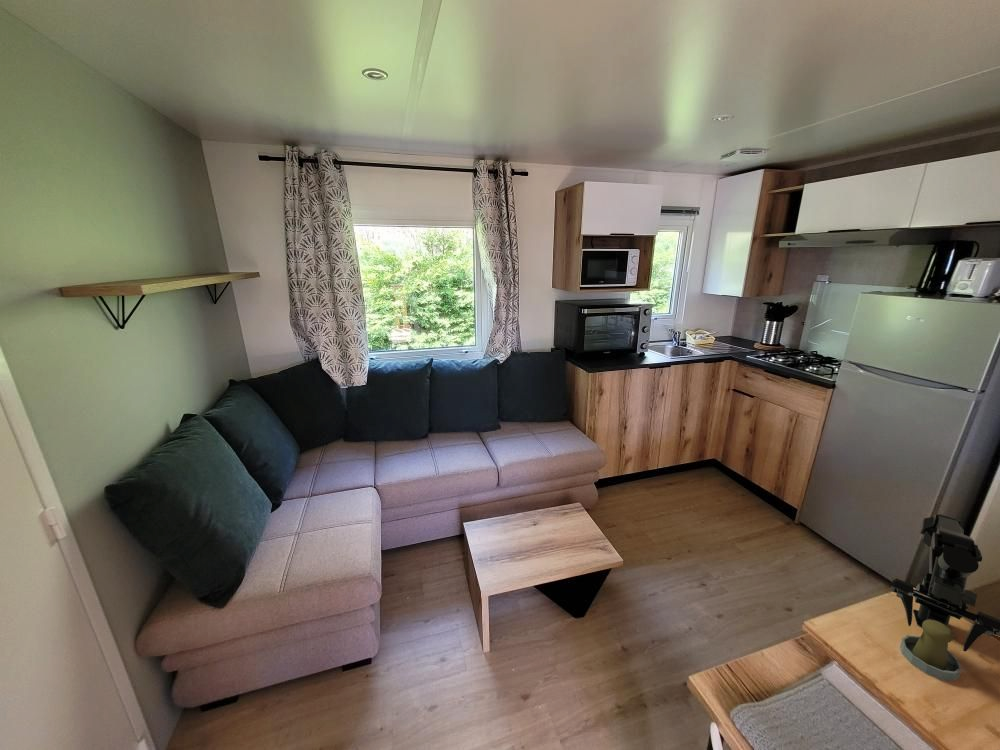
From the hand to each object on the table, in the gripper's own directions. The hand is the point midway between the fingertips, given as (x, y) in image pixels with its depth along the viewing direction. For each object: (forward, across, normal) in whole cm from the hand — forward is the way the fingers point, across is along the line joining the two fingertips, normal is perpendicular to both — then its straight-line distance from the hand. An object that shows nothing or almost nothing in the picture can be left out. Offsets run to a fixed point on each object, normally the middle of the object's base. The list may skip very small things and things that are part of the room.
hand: (935, 637), depth 94 cm
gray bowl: (+5, 0, +7) cm, 9 cm away
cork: (+5, 0, +7) cm, 8 cm away
